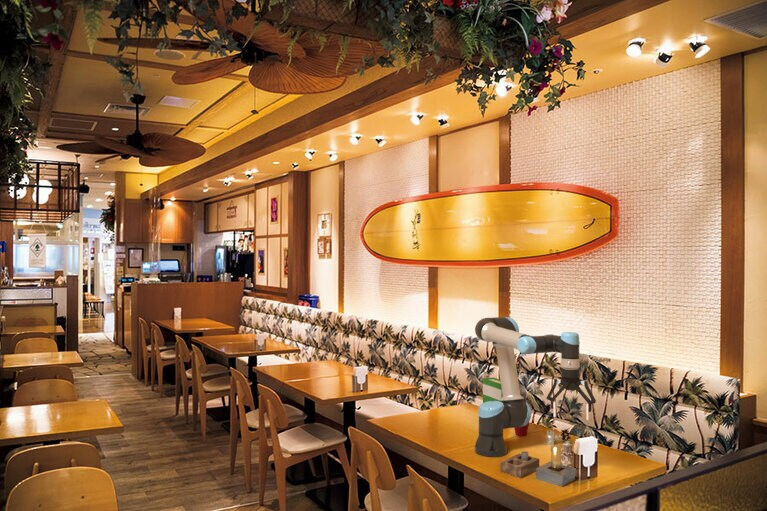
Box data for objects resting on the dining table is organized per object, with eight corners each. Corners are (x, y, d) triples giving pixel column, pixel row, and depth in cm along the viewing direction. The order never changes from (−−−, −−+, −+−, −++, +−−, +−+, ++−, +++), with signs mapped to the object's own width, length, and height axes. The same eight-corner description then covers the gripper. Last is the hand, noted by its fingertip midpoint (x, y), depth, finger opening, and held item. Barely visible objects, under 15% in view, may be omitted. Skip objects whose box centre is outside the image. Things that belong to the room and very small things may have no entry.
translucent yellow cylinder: (549, 479, 252) (549, 445, 252) (553, 476, 255) (554, 443, 255) (558, 481, 249) (558, 448, 249) (562, 479, 252) (563, 446, 252)
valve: (550, 446, 296) (570, 444, 300) (551, 433, 296) (570, 431, 300) (542, 442, 302) (562, 440, 306) (542, 429, 302) (562, 427, 306)
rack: (500, 472, 259) (500, 456, 259) (519, 463, 271) (519, 447, 271) (520, 478, 252) (521, 461, 252) (539, 468, 264) (539, 453, 264)
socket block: (536, 478, 252) (536, 468, 252) (549, 471, 260) (549, 461, 260) (562, 486, 243) (562, 475, 244) (575, 479, 252) (575, 468, 252)
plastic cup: (505, 433, 317) (506, 411, 317) (521, 431, 322) (522, 408, 322) (519, 439, 307) (519, 416, 307) (535, 436, 312) (535, 413, 312)
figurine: (557, 468, 265) (557, 441, 265) (561, 463, 271) (562, 437, 271) (573, 471, 262) (574, 444, 262) (577, 466, 268) (578, 440, 268)
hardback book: (511, 426, 329) (512, 383, 330) (500, 428, 326) (501, 384, 326) (492, 418, 345) (493, 377, 345) (482, 420, 342) (483, 378, 342)
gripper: (539, 367, 259) (540, 417, 258) (600, 371, 248) (601, 422, 248) (542, 365, 265) (542, 413, 265) (601, 368, 255) (602, 418, 254)
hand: (571, 418), depth 256 cm, fingers open, 13 cm apart
